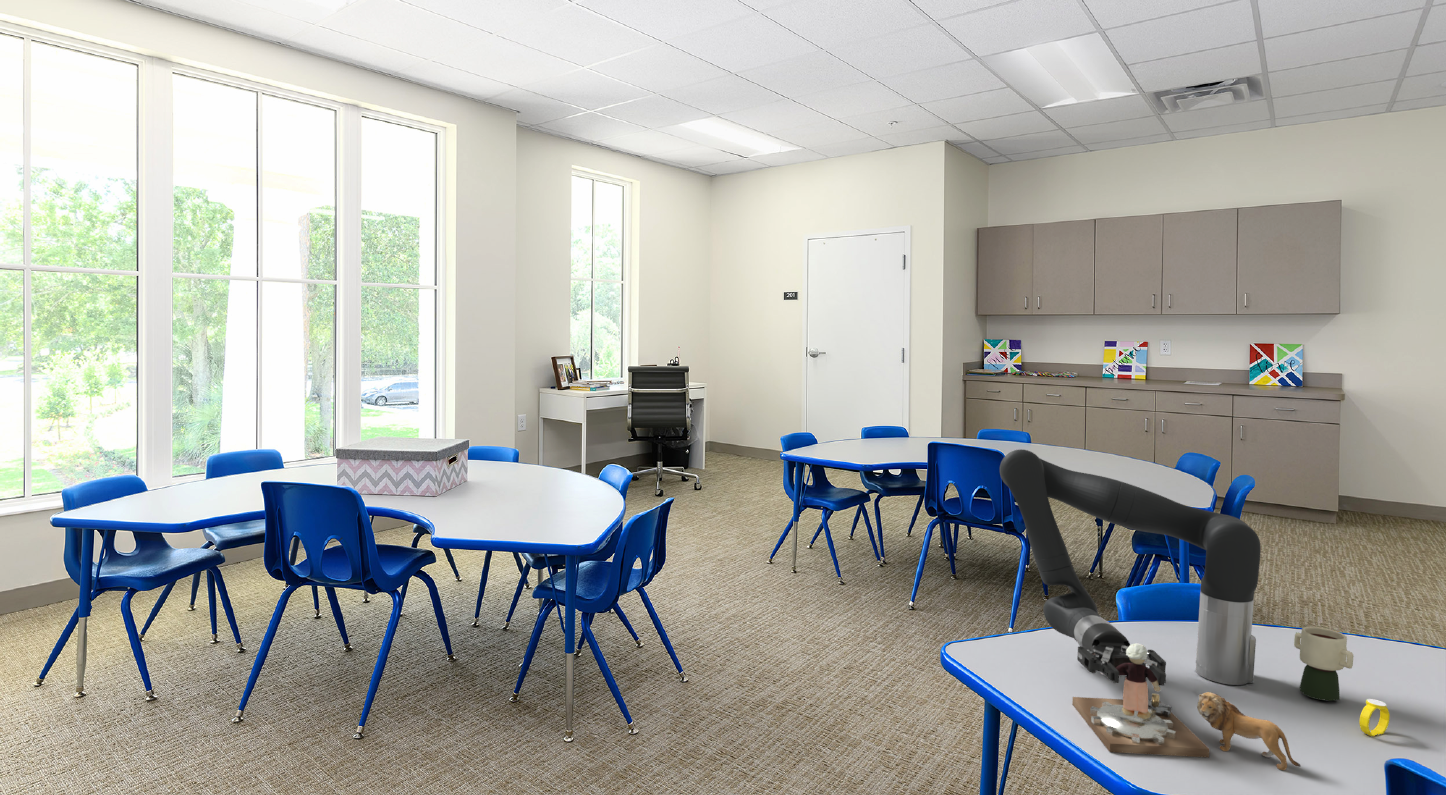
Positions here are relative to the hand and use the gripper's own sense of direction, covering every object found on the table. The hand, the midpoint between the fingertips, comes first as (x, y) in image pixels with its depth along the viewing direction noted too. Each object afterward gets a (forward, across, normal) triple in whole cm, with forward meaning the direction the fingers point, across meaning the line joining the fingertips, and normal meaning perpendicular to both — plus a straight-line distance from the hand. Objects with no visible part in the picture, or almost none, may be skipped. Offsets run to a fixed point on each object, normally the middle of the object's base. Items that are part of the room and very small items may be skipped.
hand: (1139, 679), depth 133 cm
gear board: (-4, +2, +11) cm, 12 cm away
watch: (-7, +44, +11) cm, 45 cm away
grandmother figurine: (-2, 0, +7) cm, 8 cm away
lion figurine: (+3, +16, +11) cm, 20 cm away
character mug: (-21, +44, +11) cm, 49 cm away
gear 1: (-2, 0, +9) cm, 10 cm away
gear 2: (-8, +7, +9) cm, 14 cm away
